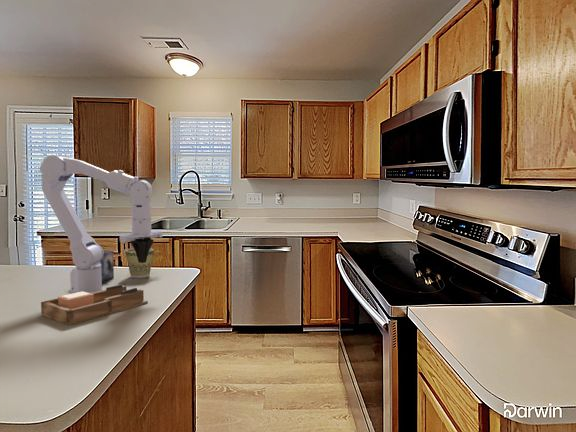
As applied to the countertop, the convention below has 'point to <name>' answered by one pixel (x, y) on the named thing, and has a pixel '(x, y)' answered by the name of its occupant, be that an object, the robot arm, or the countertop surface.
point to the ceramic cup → (140, 268)
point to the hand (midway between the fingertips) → (142, 262)
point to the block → (76, 300)
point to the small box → (107, 266)
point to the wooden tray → (95, 305)
